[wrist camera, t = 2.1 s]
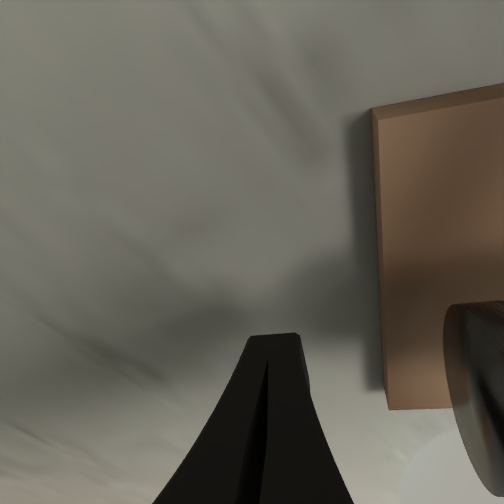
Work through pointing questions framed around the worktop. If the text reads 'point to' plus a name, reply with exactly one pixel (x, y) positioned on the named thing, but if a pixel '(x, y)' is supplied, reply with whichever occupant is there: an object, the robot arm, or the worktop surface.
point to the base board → (435, 229)
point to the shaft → (478, 384)
